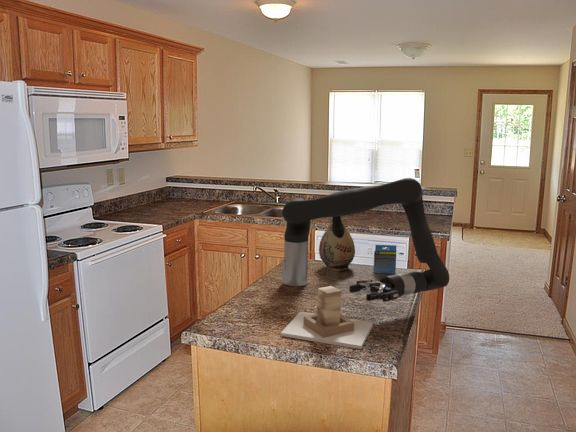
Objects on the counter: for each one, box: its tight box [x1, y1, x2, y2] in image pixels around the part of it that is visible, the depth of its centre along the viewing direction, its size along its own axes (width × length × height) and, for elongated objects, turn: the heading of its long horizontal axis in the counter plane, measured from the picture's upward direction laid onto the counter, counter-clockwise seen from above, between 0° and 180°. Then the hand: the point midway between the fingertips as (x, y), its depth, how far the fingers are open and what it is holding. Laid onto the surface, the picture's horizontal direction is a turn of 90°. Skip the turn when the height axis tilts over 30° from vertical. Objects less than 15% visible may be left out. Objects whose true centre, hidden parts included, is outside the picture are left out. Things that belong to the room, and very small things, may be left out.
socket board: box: [280, 311, 374, 350], centre depth 153 cm, size 24×18×4 cm
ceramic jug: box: [318, 216, 356, 272], centre depth 214 cm, size 17×15×30 cm
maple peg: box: [316, 285, 342, 327], centre depth 152 cm, size 5×5×12 cm
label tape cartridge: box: [372, 244, 397, 275], centre depth 212 cm, size 9×4×12 cm, turn 85°
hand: (358, 293), depth 157 cm, fingers open, 8 cm apart
